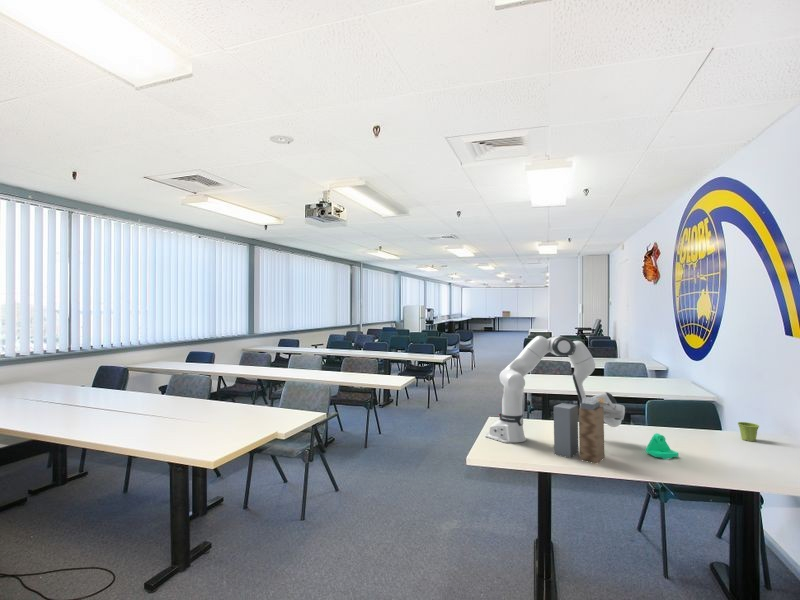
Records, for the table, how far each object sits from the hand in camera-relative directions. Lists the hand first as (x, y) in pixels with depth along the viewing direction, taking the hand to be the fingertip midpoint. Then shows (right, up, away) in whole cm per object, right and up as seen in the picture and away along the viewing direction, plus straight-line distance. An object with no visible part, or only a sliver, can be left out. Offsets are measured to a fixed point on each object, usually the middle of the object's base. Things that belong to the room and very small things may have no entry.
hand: (599, 401), depth 216 cm
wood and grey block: (-5, -1, -6) cm, 8 cm away
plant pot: (+92, -26, +18) cm, 97 cm away
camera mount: (+28, -26, -6) cm, 39 cm away
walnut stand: (-8, -26, -10) cm, 28 cm away
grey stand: (-17, -26, -1) cm, 31 cm away
